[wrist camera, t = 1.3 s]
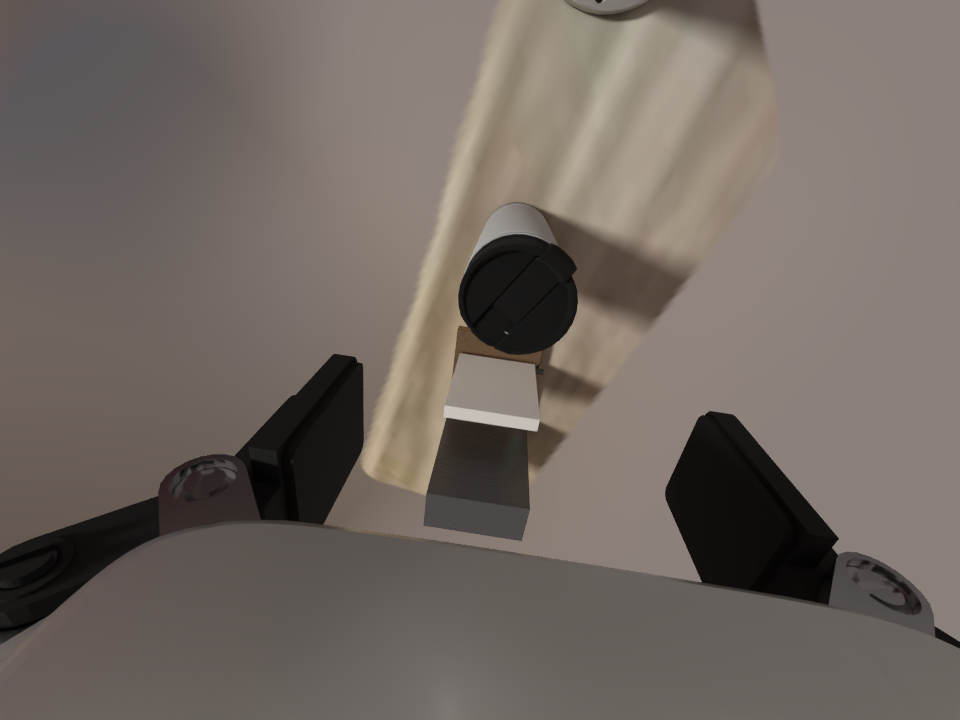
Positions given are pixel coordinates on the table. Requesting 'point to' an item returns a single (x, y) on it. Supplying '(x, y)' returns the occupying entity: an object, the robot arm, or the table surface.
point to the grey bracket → (480, 467)
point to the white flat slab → (494, 392)
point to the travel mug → (518, 283)
